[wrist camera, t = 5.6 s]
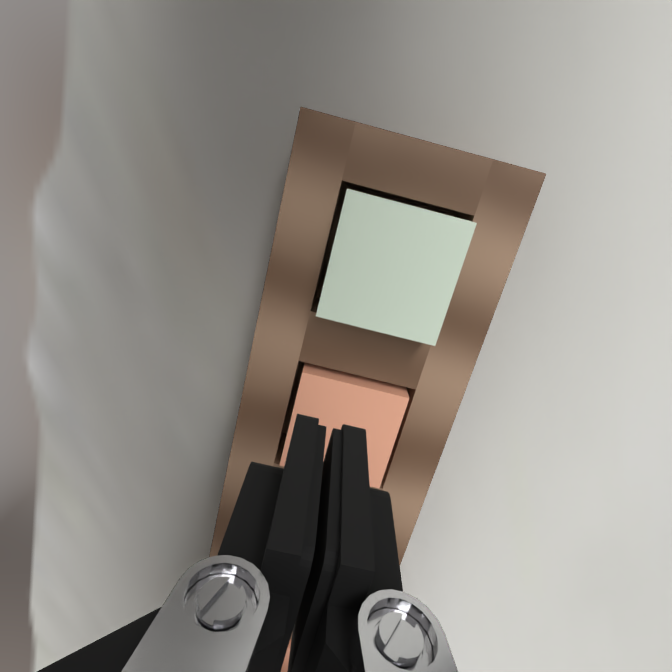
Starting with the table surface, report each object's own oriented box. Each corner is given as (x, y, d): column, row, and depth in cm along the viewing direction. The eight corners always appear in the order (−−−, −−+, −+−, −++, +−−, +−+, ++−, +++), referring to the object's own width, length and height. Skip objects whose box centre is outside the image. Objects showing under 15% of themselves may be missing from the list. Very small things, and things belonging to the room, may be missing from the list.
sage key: (347, 190, 19) (347, 188, 16) (456, 219, 19) (477, 223, 16) (320, 299, 20) (315, 316, 17) (422, 324, 20) (435, 346, 17)
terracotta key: (308, 349, 22) (302, 372, 19) (401, 371, 23) (409, 398, 19) (288, 431, 24) (279, 465, 21) (375, 452, 24) (379, 488, 21)
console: (309, 124, 20) (299, 103, 16) (509, 179, 21) (552, 172, 16) (205, 618, 30) (181, 688, 25) (345, 648, 30) (344, 722, 26)
